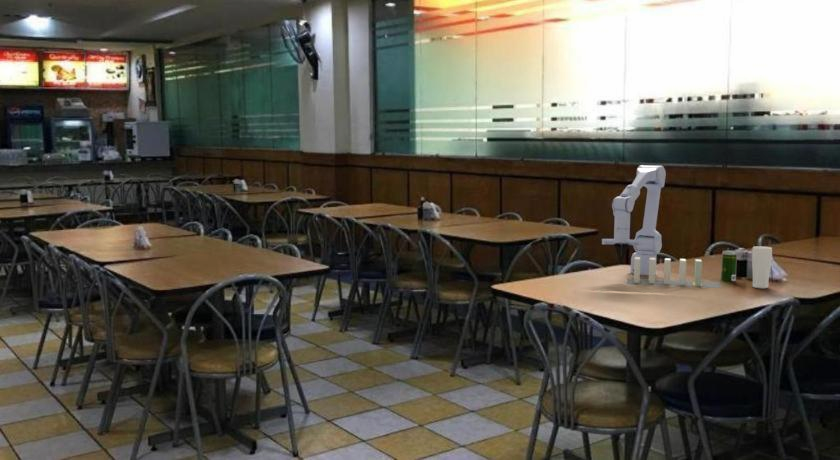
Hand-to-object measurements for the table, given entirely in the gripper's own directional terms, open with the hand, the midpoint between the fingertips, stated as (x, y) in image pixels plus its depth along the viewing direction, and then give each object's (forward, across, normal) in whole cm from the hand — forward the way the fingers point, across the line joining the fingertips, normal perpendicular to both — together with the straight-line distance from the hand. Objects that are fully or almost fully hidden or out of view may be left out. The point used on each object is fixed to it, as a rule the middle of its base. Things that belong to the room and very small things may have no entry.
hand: (620, 263), depth 311 cm
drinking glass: (+8, +51, +3) cm, 51 cm away
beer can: (+8, +40, +11) cm, 43 cm away
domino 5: (+7, +28, 0) cm, 29 cm away
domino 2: (+7, +12, 0) cm, 13 cm away
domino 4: (+7, +22, 0) cm, 23 cm away
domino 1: (+7, +6, 0) cm, 9 cm away
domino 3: (+7, +17, 0) cm, 18 cm away
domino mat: (+7, +19, 0) cm, 21 cm away
